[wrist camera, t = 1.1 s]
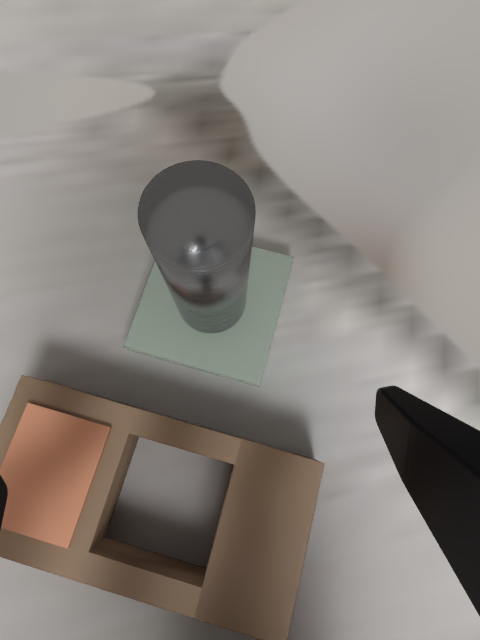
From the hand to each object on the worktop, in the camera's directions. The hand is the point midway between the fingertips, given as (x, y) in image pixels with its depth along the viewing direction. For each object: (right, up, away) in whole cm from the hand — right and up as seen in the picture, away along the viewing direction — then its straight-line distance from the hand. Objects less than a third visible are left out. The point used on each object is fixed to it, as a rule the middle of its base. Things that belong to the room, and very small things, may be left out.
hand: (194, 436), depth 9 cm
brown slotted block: (-4, -7, +12) cm, 14 cm away
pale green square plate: (-1, +4, +15) cm, 15 cm away
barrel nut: (-1, +4, +14) cm, 14 cm away
